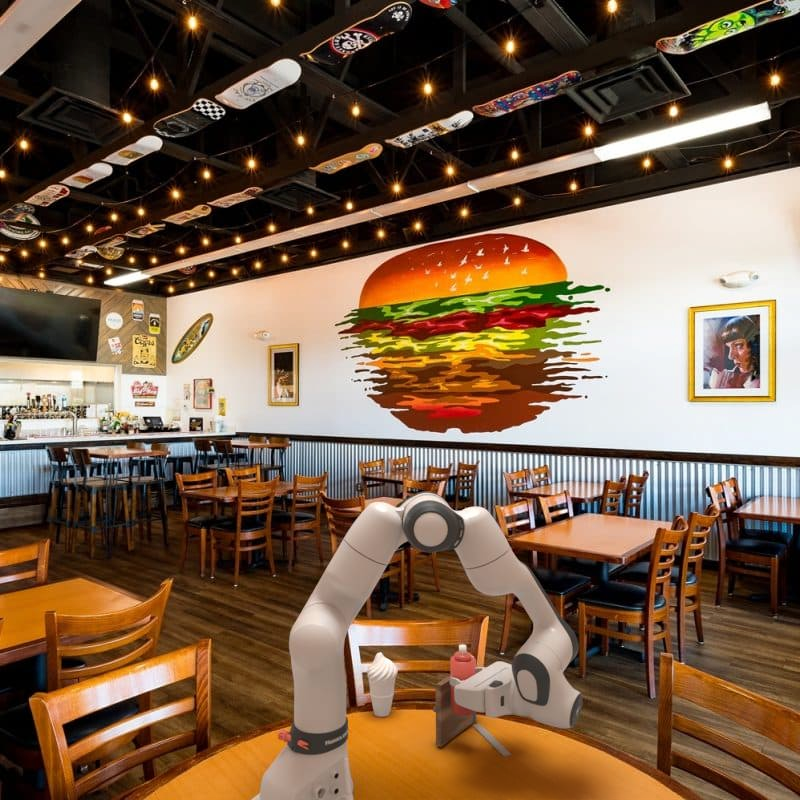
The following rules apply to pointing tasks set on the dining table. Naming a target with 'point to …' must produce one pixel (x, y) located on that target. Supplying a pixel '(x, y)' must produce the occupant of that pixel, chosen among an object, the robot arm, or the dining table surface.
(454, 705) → the ketchup bottle
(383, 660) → the soft serve ice cream cone
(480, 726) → the white-tipped grey slat
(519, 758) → the dining table surface
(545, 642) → the robot arm
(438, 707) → the door
